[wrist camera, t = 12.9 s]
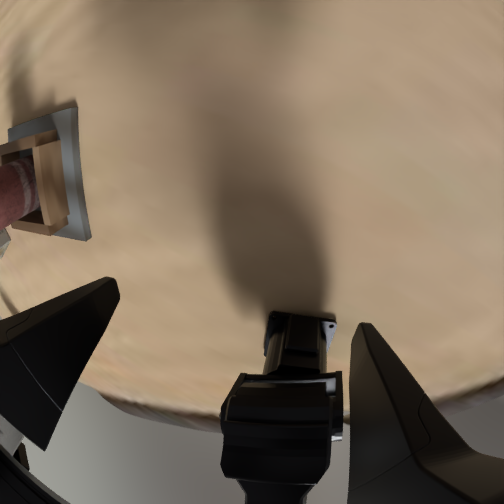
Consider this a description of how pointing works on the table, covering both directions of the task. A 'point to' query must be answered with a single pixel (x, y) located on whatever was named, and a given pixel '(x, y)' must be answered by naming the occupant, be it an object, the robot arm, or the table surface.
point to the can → (17, 190)
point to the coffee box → (3, 242)
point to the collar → (52, 174)
